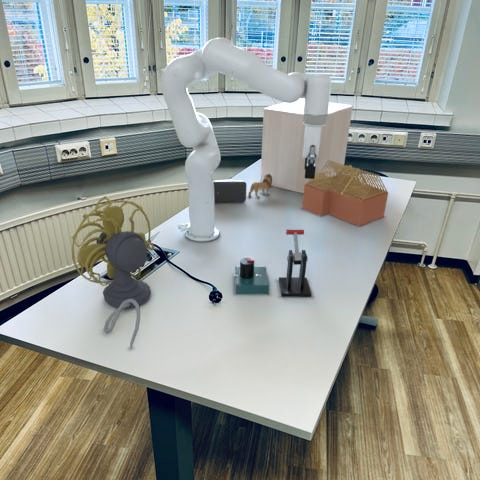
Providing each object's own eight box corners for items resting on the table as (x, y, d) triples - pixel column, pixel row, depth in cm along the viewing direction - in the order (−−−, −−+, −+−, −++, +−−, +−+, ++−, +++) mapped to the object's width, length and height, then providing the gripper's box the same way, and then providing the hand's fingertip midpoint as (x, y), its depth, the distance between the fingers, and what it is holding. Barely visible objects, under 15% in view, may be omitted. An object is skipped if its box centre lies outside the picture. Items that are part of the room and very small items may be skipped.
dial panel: (233, 294, 142) (233, 284, 140) (232, 275, 152) (232, 266, 150) (268, 294, 142) (268, 284, 140) (265, 275, 152) (266, 266, 150)
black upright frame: (278, 280, 149) (281, 245, 142) (306, 280, 150) (310, 246, 143) (281, 296, 141) (284, 260, 134) (310, 296, 141) (315, 260, 134)
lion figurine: (265, 190, 221) (266, 171, 215) (274, 193, 218) (275, 174, 213) (244, 198, 212) (245, 178, 207) (253, 201, 209) (254, 181, 204)
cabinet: (293, 166, 253) (299, 98, 234) (342, 177, 240) (353, 105, 221) (259, 183, 229) (263, 108, 210) (312, 195, 216) (321, 116, 197)
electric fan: (149, 274, 151) (139, 184, 134) (207, 317, 131) (205, 217, 114) (72, 301, 137) (50, 203, 120) (125, 354, 117) (108, 245, 100)
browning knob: (240, 278, 143) (240, 263, 140) (239, 271, 147) (239, 257, 144) (254, 278, 143) (254, 263, 140) (253, 272, 147) (254, 257, 144)
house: (301, 208, 202) (305, 163, 191) (336, 197, 215) (342, 154, 204) (351, 228, 185) (359, 181, 174) (386, 215, 197) (396, 170, 186)
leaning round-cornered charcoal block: (245, 199, 210) (245, 178, 205) (246, 203, 206) (246, 182, 201) (209, 200, 209) (209, 179, 203) (209, 203, 205) (209, 182, 200)
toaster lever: (285, 233, 145) (286, 228, 143) (303, 233, 145) (304, 228, 143) (288, 264, 140) (289, 260, 138) (306, 264, 140) (307, 260, 138)
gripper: (302, 113, 152) (298, 165, 162) (303, 124, 138) (297, 181, 148) (325, 114, 152) (319, 167, 161) (328, 125, 137) (321, 182, 147)
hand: (309, 173), depth 155 cm, fingers open, 9 cm apart
